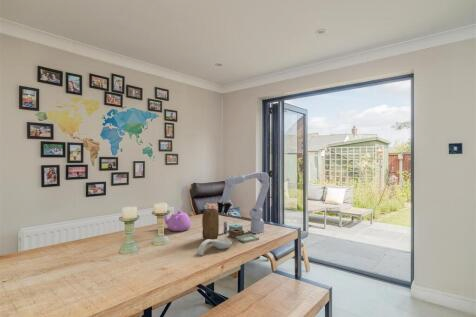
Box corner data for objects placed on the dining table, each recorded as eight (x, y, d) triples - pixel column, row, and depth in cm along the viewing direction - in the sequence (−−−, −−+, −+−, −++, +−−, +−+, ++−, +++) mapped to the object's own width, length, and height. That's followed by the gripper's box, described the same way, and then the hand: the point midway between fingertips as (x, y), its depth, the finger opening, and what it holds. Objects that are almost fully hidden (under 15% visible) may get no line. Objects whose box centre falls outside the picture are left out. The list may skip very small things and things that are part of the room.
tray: (250, 235, 185) (250, 233, 185) (258, 239, 178) (258, 237, 178) (235, 238, 178) (235, 236, 178) (244, 242, 170) (244, 240, 170)
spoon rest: (221, 243, 170) (221, 231, 170) (235, 247, 162) (235, 235, 162) (193, 253, 152) (193, 240, 151) (207, 258, 144) (207, 245, 144)
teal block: (235, 229, 201) (235, 223, 201) (242, 231, 196) (242, 225, 196) (228, 230, 196) (229, 225, 196) (235, 233, 191) (235, 227, 191)
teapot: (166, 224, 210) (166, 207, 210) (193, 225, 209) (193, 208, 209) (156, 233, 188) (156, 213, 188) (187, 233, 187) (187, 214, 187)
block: (219, 241, 173) (220, 210, 172) (210, 243, 167) (211, 211, 167) (209, 237, 180) (209, 207, 180) (200, 239, 175) (200, 209, 175)
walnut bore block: (237, 233, 189) (237, 228, 189) (243, 236, 183) (244, 230, 183) (229, 235, 185) (229, 229, 185) (235, 238, 179) (235, 232, 179)
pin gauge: (225, 232, 192) (225, 221, 192) (227, 233, 190) (227, 222, 190) (222, 233, 190) (223, 221, 190) (224, 233, 188) (224, 222, 188)
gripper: (227, 193, 196) (222, 211, 195) (216, 192, 183) (212, 211, 182) (235, 195, 192) (231, 214, 191) (225, 194, 180) (220, 214, 179)
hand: (222, 213), depth 186 cm, fingers open, 7 cm apart
